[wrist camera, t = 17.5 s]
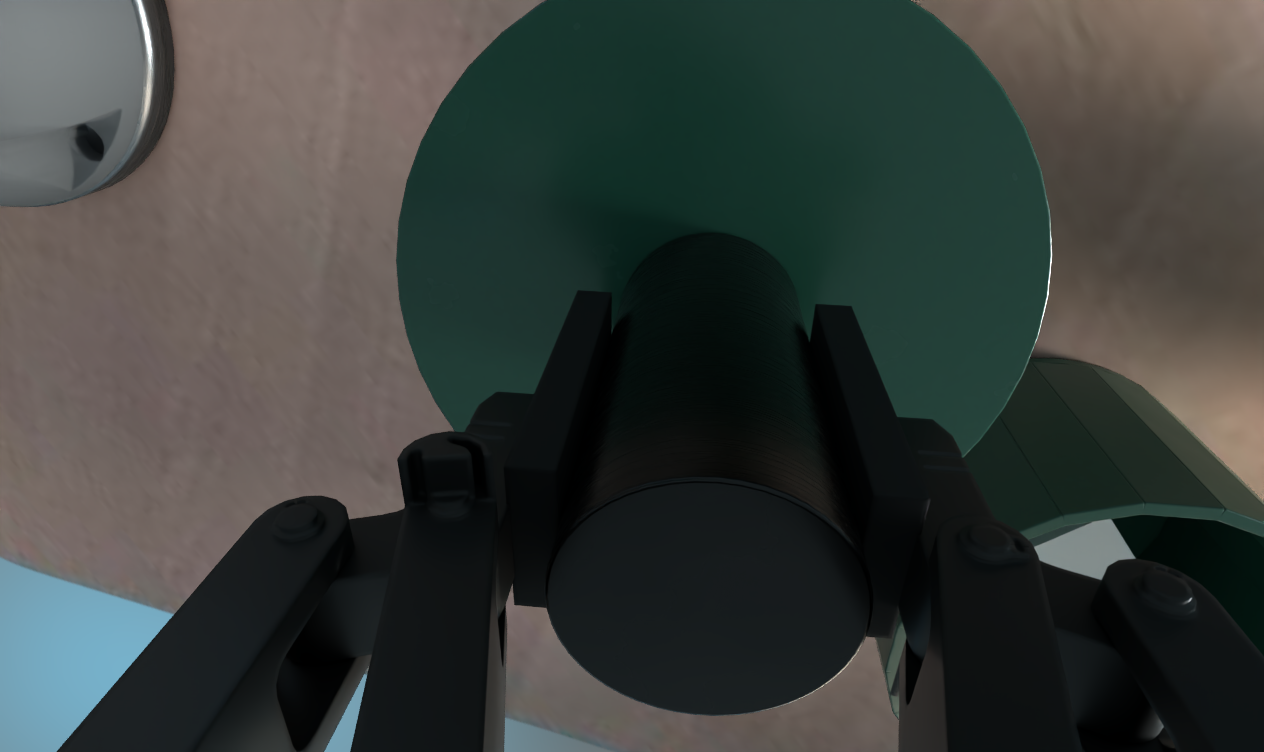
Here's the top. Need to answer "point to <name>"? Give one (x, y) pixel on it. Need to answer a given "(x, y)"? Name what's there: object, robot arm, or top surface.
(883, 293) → the green disc with post
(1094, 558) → the white cube
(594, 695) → the top surface
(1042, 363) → the green tube
